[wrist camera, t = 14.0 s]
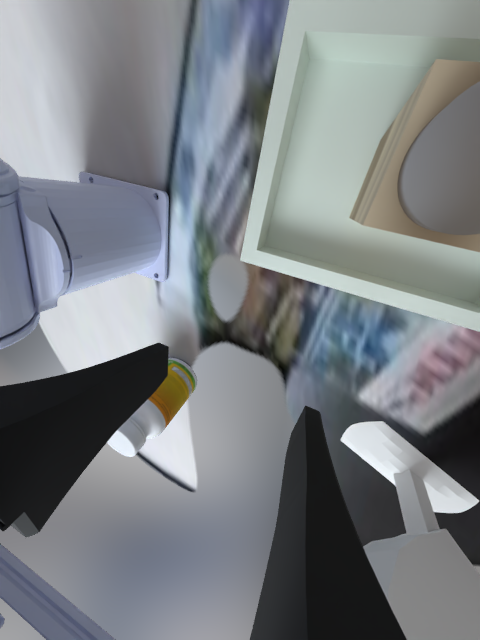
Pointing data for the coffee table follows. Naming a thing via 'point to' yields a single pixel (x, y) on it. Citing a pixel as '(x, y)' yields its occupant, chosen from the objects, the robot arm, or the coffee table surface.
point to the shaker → (430, 162)
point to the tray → (355, 152)
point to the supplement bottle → (156, 409)
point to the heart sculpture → (420, 541)
